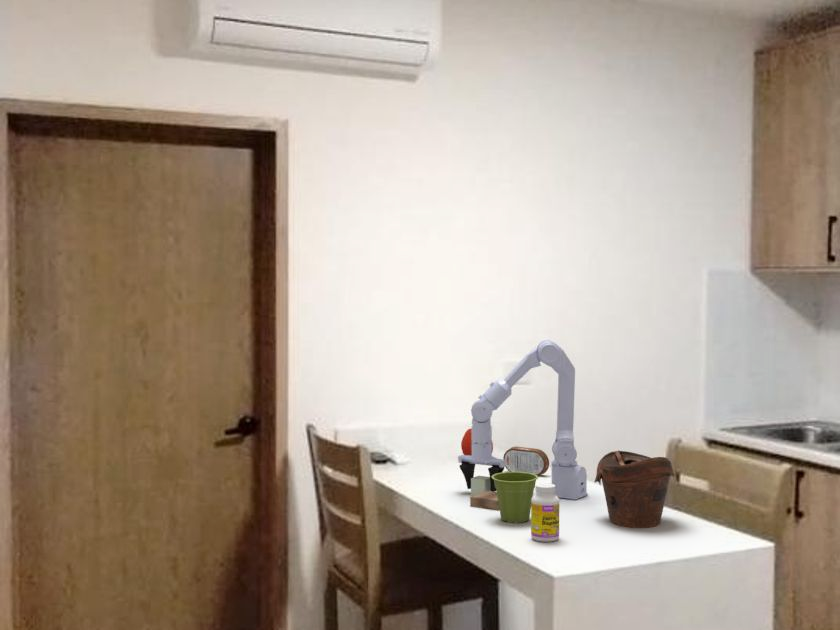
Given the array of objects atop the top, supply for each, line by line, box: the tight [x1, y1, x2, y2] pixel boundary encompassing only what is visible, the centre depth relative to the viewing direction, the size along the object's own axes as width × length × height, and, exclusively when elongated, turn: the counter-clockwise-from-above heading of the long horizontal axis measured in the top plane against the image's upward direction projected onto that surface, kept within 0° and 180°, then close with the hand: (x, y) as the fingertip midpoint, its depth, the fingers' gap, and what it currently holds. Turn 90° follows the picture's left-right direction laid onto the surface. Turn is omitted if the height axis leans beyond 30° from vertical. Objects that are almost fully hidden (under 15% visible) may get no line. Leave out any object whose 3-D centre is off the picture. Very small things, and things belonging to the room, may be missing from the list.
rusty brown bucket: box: [594, 450, 675, 529], centre depth 253 cm, size 18×20×18 cm
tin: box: [503, 446, 550, 477], centre depth 313 cm, size 15×3×8 cm, turn 58°
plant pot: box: [492, 471, 539, 524], centre depth 255 cm, size 12×12×11 cm
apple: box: [460, 428, 494, 456], centre depth 341 cm, size 11×11×11 cm
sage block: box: [470, 475, 491, 497], centre depth 284 cm, size 4×4×5 cm
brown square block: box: [469, 491, 500, 512], centre depth 272 cm, size 9×9×3 cm
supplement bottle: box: [530, 482, 560, 543], centre depth 237 cm, size 7×7×13 cm
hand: (481, 489), depth 285 cm, fingers open, 7 cm apart
